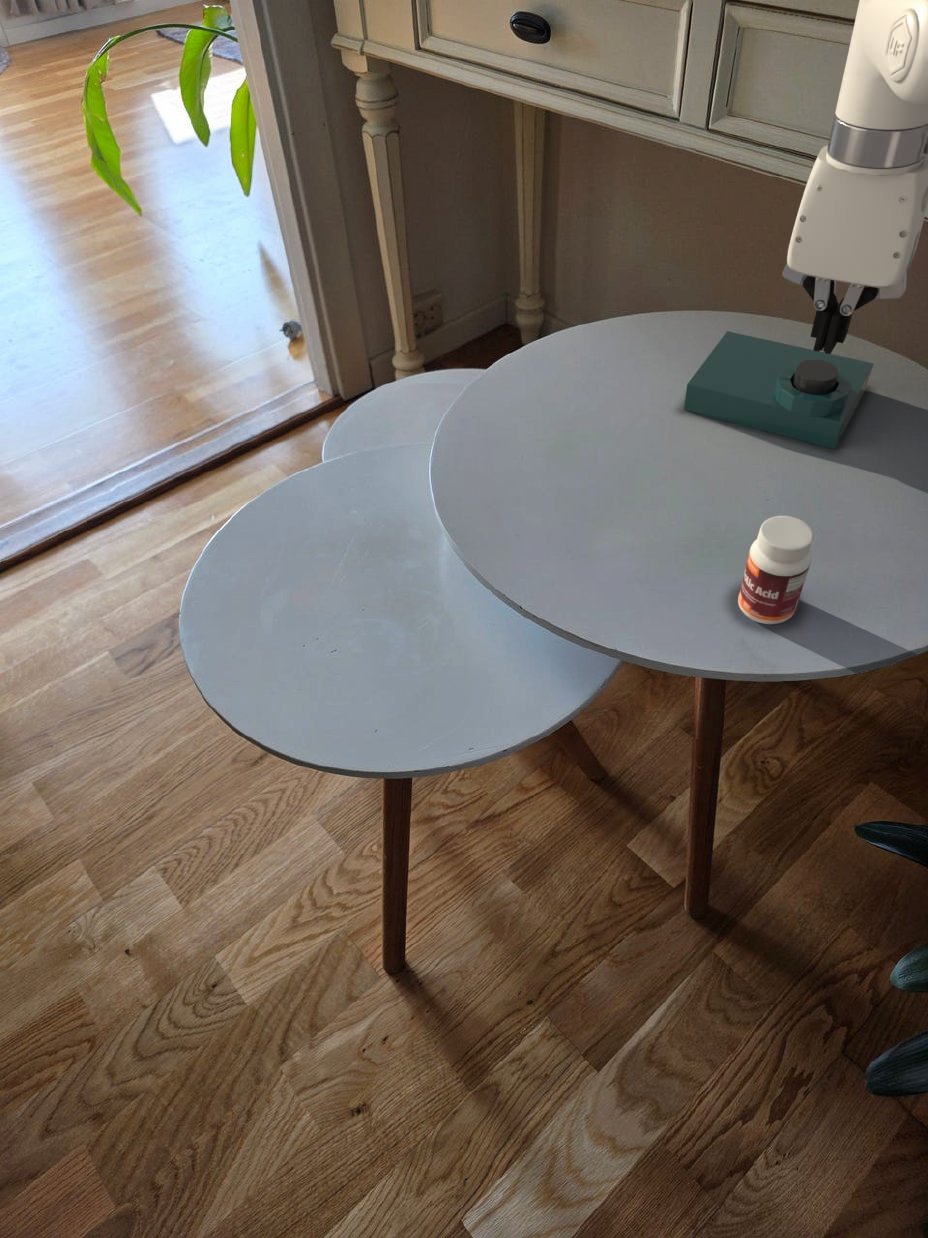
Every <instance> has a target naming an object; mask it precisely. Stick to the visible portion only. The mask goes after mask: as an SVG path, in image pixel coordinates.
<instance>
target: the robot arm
mask: <svg viewBox="0 0 928 1238" xmlns="http://www.w3.org/2000/svg"><path fill="white" fill-rule="evenodd" d="M828 139H829V140H828V144H826V145H825V146H823V147H822V148H820V150H819V153H818V154H817V157H816V159H815V162H814V163H813V166H812V169H811V171H810V174H809V176H808V180H807V182H806V184H805V188H804V191H803V195H802V198H801V202H800V204H799V208H798V211H797V215H796V218H795V222H794V225H793V228H792V233H791V237H790V241H789V244H788V249H787V256H786V263H785V266H784V268H783V269H782V272H781V277H782V278H784V279H785V280H787V281H789V282H791V283H793V284H796V285H798V286H802V287H803V289H804V290H805V292H806V293H807V295H808V296H809V297H810V298H811V300H812V301H813V309H815V310H816V311H815V316H814V320H813V324H812V328H811V333H810V337H811V338H815V342H814V347H813V349H812V350H813V351H818V352H819V351H820V352H824V353H827V354H832V352H833V351H834V349H835V348H836V346H837V344H838V343H839V344H844V342H845V340H846V338H847V335H848V333H849V328H850V325H851V322H852V317H853V314H854V312H855V311H856V310H859V309H860V308H862V307H864V306H866V305H867V304H869V303H870V302H873V301H874V300H880V301H881V300H882V301H883V300H898V299H901V298H902V296H903V295H904V294H905V292H906V289H907V278H908V276H907V275H908V269H909V268H910V267H911V265H912V263H913V259H914V257H915V254H916V250H917V247H918V244H919V240H920V237H921V233H922V229H923V224H924V222H925V221H924V220H925V218H926V217H925V216H926V212H927V209H928V0H859V1H858V6H857V10H856V15H855V20H854V25H853V29H852V33H851V38H850V43H849V48H848V52H847V57H846V62H845V67H844V71H843V76H842V80H841V84H840V89H839V94H838V99H837V103H836V108H835V113H834V116H833V121H832V125H831V130H830V134H829V138H828ZM837 282H839V283H840V282H841V283H847V284H849V286H848V289H847V291H846V293H845V295H844V297H842V298H841V300H840V302H839V301H838V298H837V295H836V291H837V290H836V288H837Z"/></svg>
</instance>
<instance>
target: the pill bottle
mask: <svg viewBox="0 0 928 1238" xmlns="http://www.w3.org/2000/svg"><path fill="white" fill-rule="evenodd" d="M813 541H814V532H813V530H812V528H811V527H810V525H808V523H806V522H805V521H803V520H802V519H800V518H798V517H797V518H796V517H794V516H790V515H789V516H788V515H776V516H772V517H770V518H767V519H766V520H765V521H763V523H762V524H761V526H760V528H759V532H758V534H757V538H756V539H755V540H754V541H753V542H752V544H751V546H750V549H749V553H748V555H747V561H746V564H745V569H744V573H743V576H742V577H743V578H742V582H741V585H740V590H739V594H738V599H737V603H738V607H739V608H740V611H741V612H742V613H743V614H744V615H745V616H746V617H748V618H749V619H751V620H752V621H754V622H756V623H760V624H762V625H763V624H764V625H778V624H782V623H785V622H786V621H788V620H790V619H791V618H792V617H793V616H794V614H795V612H796V610H797V607H798V604H799V601H800V597H801V594H802V591H803V588H804V585H805V582H806V579H807V576H808V573H809V569H810V567H811V564H812V560H813V559H812V558H813V556H812V552H811V548H812V545H813Z"/></svg>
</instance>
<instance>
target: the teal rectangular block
mask: <svg viewBox="0 0 928 1238" xmlns="http://www.w3.org/2000/svg"><path fill="white" fill-rule="evenodd" d="M813 350H814V349H812V348H811V349H810V348H806V347H801V346H796V345H792V344H787V343H783V342H778V341H774V340H769V339H766V338H760V337H756V336H751V335H747V334H743V333H737V332H732V331H728V330H727V331H726V332H725V333H724V335H723V336H722V337H721V338H720V340H719V341H718V343H717V344H716V345H715V347H714V348H713V350H712V351H711V352H710V353H709V355H708V356H707V357H706V358H705V359H704V361H703V363H702V364H701V365H700V367H698V369H697V371H696V372H695V373H694V374H693V375H692V377H691V379H689V381H688V382H687V384H686V390H685V397H684V405H683V410H684V411H686V412H690V413H694V414H699V415H703V416H706V417H709V418H713V419H718V420H721V421H725V422H729V423H732V424H737V425H740V426H744V427H748V428H752V429H756V430H760V431H764V432H767V433H771V434H774V435H778V436H783V437H787V438H789V439H794V440H797V441H801V442H805V443H809V444H811V445H812V444H813V445H816V446H820V447H824V448H827V449H828V448H829V449H832V450H835V449H836V447H837V445H838V443H839V441H840V440H841V437H842V436H843V435H844V433H845V430H846V428H847V426H848V424H849V422H850V420H851V418H852V416H853V414H854V413H855V410H856V408H858V405H859V403H860V401H861V398H863V395H864V393H865V391H866V389H867V386H868V383H869V380H870V377H871V374H872V371H873V367H874V365H875V364H874V363H873V362H869V361H866V360H865V361H864V360H860V359H855V358H851V357H847V356H842V355H837V354H833V353H831V354H827V353H825V351H819V352H818V351H813ZM806 360H823V361H827V362H829V363H831V364H833V365H835V366H836V367H837V369H838V371H839V374H838V377H837V381H836V385H835V388H834V390H833V391H832V392H831V393H829V394H826V395H812V394H808V393H803V392H800V391H799V390H797V389H796V388H794V386H793V380H794V376H795V372H796V367H797V366H798V364H800V363H801V362H803V361H806Z"/></svg>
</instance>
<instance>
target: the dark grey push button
mask: <svg viewBox="0 0 928 1238" xmlns="http://www.w3.org/2000/svg"><path fill="white" fill-rule="evenodd" d="M838 374H839V371H838V369H837V367H836V366H835V365H833V364H831V363H829V362H827V361H823V360H806V361H803V362H801V363H800V364H798V366H797V367H796V372H795V376H794V380H793V386H794V388H796V389H797V390H799V391H800V392H803V393H808V394H812V395H826V394H829V393H831V392H832V391H833V390H834V388H835V385H836V381H837V377H838Z"/></svg>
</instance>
